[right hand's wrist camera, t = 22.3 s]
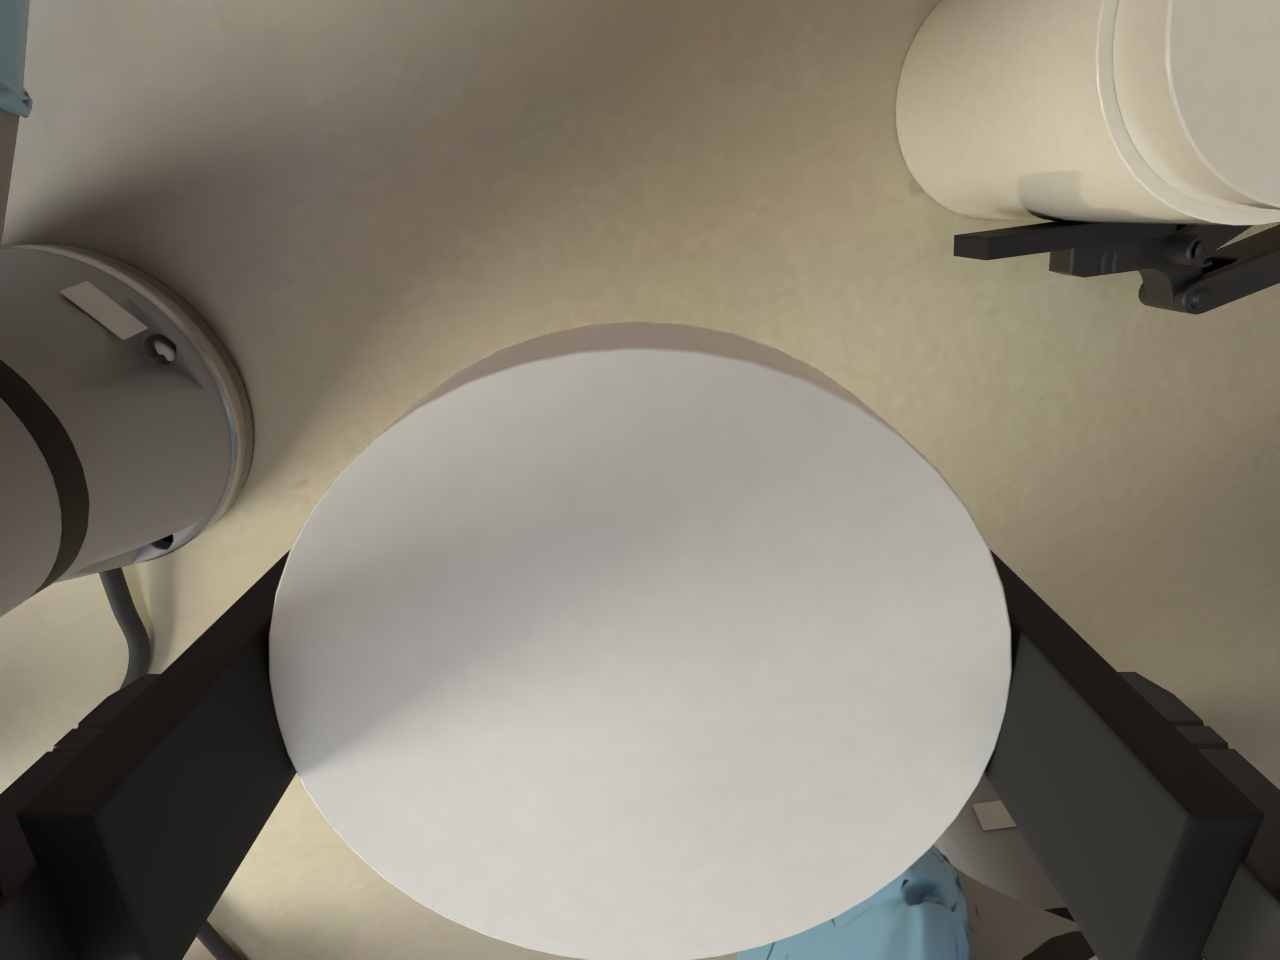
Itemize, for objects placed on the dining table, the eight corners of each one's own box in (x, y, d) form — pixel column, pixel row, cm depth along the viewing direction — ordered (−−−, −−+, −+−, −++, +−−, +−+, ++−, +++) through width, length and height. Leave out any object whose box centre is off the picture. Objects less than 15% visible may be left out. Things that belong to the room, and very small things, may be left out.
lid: (200, 481, 11) (106, 538, 9) (846, 198, 10) (898, 194, 8) (505, 917, 15) (484, 1026, 13) (1011, 761, 13) (1077, 857, 11)
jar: (1174, 103, 29) (1713, -4, 15) (976, 267, 32) (1268, 315, 17) (1056, -110, 27) (1568, -502, 12) (848, 85, 29) (1065, -42, 14)
